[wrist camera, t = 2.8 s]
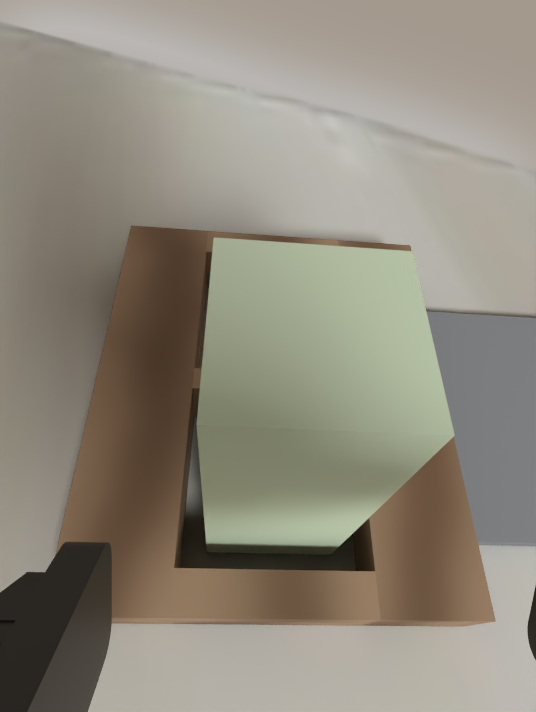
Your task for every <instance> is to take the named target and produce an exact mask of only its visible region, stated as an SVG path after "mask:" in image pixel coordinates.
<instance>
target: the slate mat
mask: <svg viewBox="0 0 536 712" xmlns="http://www.w3.org/2000/svg"><path fill="white" fill-rule="evenodd" d="M426 312H427V316H428V321H429V325H430V329H431V334H432V338H433V342H434V347H435V351H436V356H437V360H438V364H439V369H440V373H441V377H442V382H443V386H444V391H445V395H446V399H447V404H448V408H449V412H450V417H451V421H452V426H453V430H454V434H455V436H454V440H455V445H456V449H457V454H458V458H459V462H460V467H461V471H462V476H463V480H464V484H465V489H466V493H467V498H468V502H469V506H470V511H471V515H472V520H473V524H474V529H475V533H476V537H477V542H478V545H511V546H536V318H528V317H511V316H495V315H478V314H462V313H445V312H429V311H426Z"/></svg>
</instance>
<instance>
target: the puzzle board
mask: <svg viewBox="0 0 536 712" xmlns="http://www.w3.org/2000/svg"><path fill="white" fill-rule="evenodd" d="M214 237H216V238H230V239H244V240H259V241H273V242H287V243H301V244H316V245H330V246H344V247H359V248H373V249H387V250H401V251H411V247H410V245H396V244H382V243H368V242H354V241H340V240H325V239H311V238H297V237H283V236H269V235H255V234H241V233H227V232H213V231H199V230H185V229H171V228H156V227H142V226H131V230H130V234H129V238H128V243H127V247H126V251H125V256H124V260H123V264H122V269H121V273H120V277H119V282H118V286H117V290H116V295H115V299H114V303H113V308H112V312H111V316H110V321H109V325H108V329H107V334H106V338H105V342H104V347H103V351H102V355H101V360H100V364H99V368H98V373H97V377H96V381H95V386H94V390H93V394H92V399H91V403H90V407H89V412H88V416H87V420H86V425H85V429H84V433H83V438H82V442H81V446H80V451H79V455H78V459H77V464H76V468H75V472H74V477H73V481H72V485H71V490H70V494H69V498H68V503H67V507H66V511H65V516H64V520H63V524H62V529H61V533H60V537H59V542H58V546H57V550H56V554H57V552H58V551H59V549H60V548H61V546H62V545H63V544H64V543H65V542H103V543H110V546H111V552H112V623H145V624H258V625H370V626H469V625H475V624H482V623H488V622H494V621H495V617H494V612H493V608H492V603H491V599H490V595H489V590H488V586H487V581H486V577H485V573H484V568H483V564H482V559H481V555H480V551H479V546H478V542H477V537H476V533H475V529H474V524H473V520H472V515H471V511H470V506H469V502H468V498H467V493H466V489H465V484H464V480H463V476H462V471H461V467H460V462H459V458H458V454H457V449H456V445H455V440H454V437H453V438H452V439H451V440H450V441H448V442H447V443H446V444H445V445H444V446H443V447H442V448H441V449H440V450H439V451H438V452H437V453H436V454H435V455H434V456H433V457H432V458H431V459H430V460H429V461H428V462H427V463H426V464H425V465H423V466H422V467H421V468H420V469H419V470H418V471H417V472H416V473H415V474H414V475H413V476H412V477H411V478H410V479H409V480H408V481H407V482H406V483H405V484H404V485H403V486H402V487H401V488H400V489H398V490H397V491H396V492H395V493H394V494H393V495H392V496H391V497H390V498H389V499H388V500H387V501H386V502H385V503H384V504H383V505H382V506H381V507H380V508H379V509H378V510H377V511H376V512H375V513H373V514H372V515H371V516H370V517H369V518H368V519H367V520H366V521H365V522H364V523H363V524H362V525H361V526H360V527H359V528H358V529H357V530H356V531H355V532H354V533H353V537H354V548H355V559H356V570H357V571H320V570H263V569H206V568H180V561H181V550H182V540H183V530H184V519H185V509H186V498H187V488H188V477H189V467H190V456H191V446H192V435H193V425H194V414H198V403H199V392H200V381H201V370H202V368H199V362H200V352H201V341H202V331H203V320H204V310H205V299H206V289H207V284H209V283H210V272H211V261H212V250H213V239H214ZM55 556H56V555H55Z"/></svg>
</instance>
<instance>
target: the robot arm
mask: <svg viewBox="0 0 536 712" xmlns="http://www.w3.org/2000/svg"><path fill="white" fill-rule="evenodd" d="M111 623H112V552H111V546H110V543H103V542H65V543H64V544H63V545H62V546H61V548H60V549H59V551H58V552H57V554H56V556H55V557H54V559H53V561H52V562H51V564H50V565H49V567H48V569H47V570H46V572H45V573H44V572H27V573H26V574H24V575H23V576H22V577H20V578H19V579H18V580H16V581H15V582H14V583H12V584H11V585H10V586H8V587H7V588H6V589H4V590H3V591H2V592H0V712H88V709H89V706H90V703H91V700H92V697H93V694H94V691H95V688H96V685H97V682H98V679H99V676H100V673H101V670H102V667H103V664H104V661H105V658H106V654H107V650H108V645H109V639H110V633H111ZM528 639H529V644H530V648H531V650H532V653H533V656H534V658H535V660H536V587H535V592H534V597H533V602H532V607H531V611H530V616H529V621H528Z"/></svg>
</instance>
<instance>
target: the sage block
mask: <svg viewBox="0 0 536 712" xmlns="http://www.w3.org/2000/svg"><path fill="white" fill-rule="evenodd" d="M454 436H455V434H454V430H453V426H452V421H451V417H450V412H449V408H448V404H447V399H446V395H445V391H444V386H443V382H442V377H441V373H440V369H439V364H438V360H437V356H436V351H435V347H434V342H433V338H432V334H431V329H430V325H429V321H428V316H427V312H426V307H425V303H424V299H423V294H422V290H421V285H420V281H419V277H418V272H417V268H416V264H415V259H414V255H413V251H401V250H387V249H373V248H359V247H344V246H330V245H316V244H301V243H287V242H273V241H259V240H244V239H230V238H216V237H214V239H213V250H212V261H211V272H210V283H209V294H208V305H207V316H206V327H205V337H204V348H203V359H202V370H201V381H200V392H199V403H198V414H197V438H198V450H199V462H200V474H201V487H202V499H203V511H204V523H205V536H206V548H207V552H227V553H276V554H326V555H331V554H332V553H333V552H334V551H335V550H336V549H337V548H338V547H339V546H340V545H341V544H342V543H343V542H344V541H345V540H346V539H347V538H348V537H350V536H351V535H352V534H353V533H354V532H355V531H356V530H357V529H358V528H359V527H360V526H361V525H362V524H363V523H364V522H365V521H366V520H367V519H368V518H369V517H370V516H371V515H372V514H373V513H375V512H376V511H377V510H378V509H379V508H380V507H381V506H382V505H383V504H384V503H385V502H386V501H387V500H388V499H389V498H390V497H391V496H392V495H393V494H394V493H395V492H396V491H397V490H398V489H400V488H401V487H402V486H403V485H404V484H405V483H406V482H407V481H408V480H409V479H410V478H411V477H412V476H413V475H414V474H415V473H416V472H417V471H418V470H419V469H420V468H421V467H422V466H423V465H425V464H426V463H427V462H428V461H429V460H430V459H431V458H432V457H433V456H434V455H435V454H436V453H437V452H438V451H439V450H440V449H441V448H442V447H443V446H444V445H445V444H446V443H447V442H448V441H450V440H451V439H452V438H453V437H454Z"/></svg>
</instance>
